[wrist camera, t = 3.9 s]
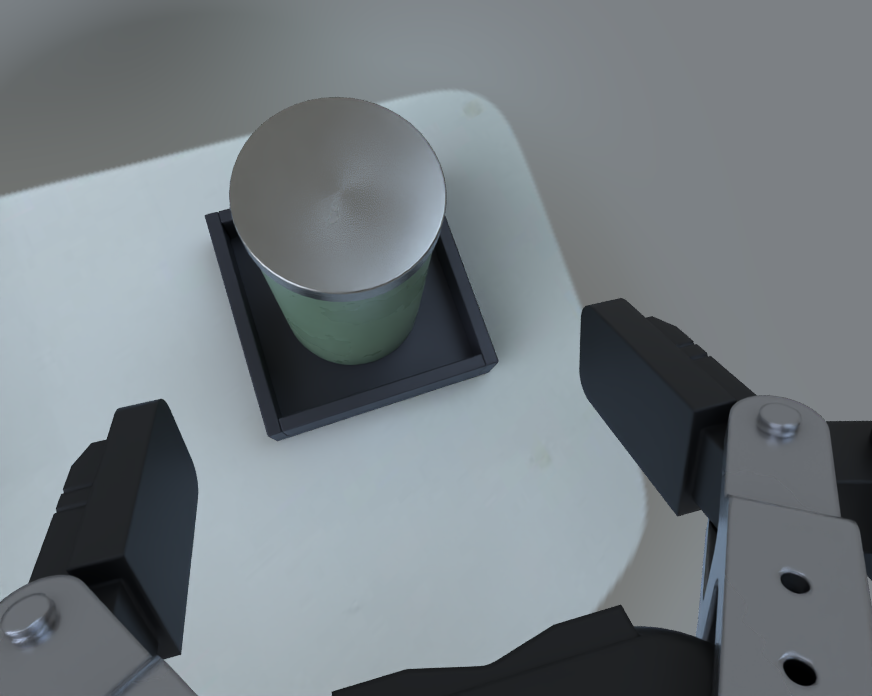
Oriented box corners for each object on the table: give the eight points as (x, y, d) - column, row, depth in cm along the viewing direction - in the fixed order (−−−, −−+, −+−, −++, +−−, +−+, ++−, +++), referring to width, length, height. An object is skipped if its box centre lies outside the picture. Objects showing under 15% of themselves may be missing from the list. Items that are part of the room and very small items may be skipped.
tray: (420, 182, 26) (424, 157, 24) (489, 372, 25) (499, 361, 23) (217, 236, 25) (203, 214, 23) (276, 441, 23) (267, 436, 21)
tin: (443, 273, 25) (481, 153, 16) (382, 391, 23) (386, 332, 15) (323, 213, 25) (296, 62, 16) (255, 328, 24) (185, 231, 15)
